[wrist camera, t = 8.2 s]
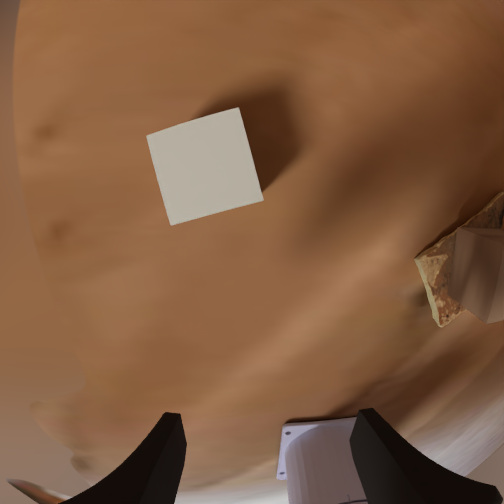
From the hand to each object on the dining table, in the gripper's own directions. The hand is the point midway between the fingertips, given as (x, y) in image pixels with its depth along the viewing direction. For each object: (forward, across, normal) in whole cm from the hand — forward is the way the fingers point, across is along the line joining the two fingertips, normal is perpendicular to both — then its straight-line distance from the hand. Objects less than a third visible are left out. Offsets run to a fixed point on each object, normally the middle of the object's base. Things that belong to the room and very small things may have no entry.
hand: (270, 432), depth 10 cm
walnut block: (+9, -16, -5) cm, 19 cm away
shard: (+11, -15, -5) cm, 19 cm away
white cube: (+10, +3, -10) cm, 14 cm away
